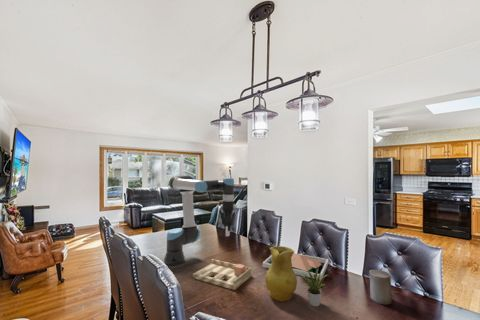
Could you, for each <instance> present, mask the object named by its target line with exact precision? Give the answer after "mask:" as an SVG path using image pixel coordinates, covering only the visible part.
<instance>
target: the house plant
mask: <svg viewBox="0 0 480 320" xmlns="http://www.w3.org/2000/svg"><path fill="white" fill-rule="evenodd" d="M305 270H306V269H305ZM306 271H307V270H306ZM307 272H308V273H309V275H310V279H309V277H307V276H306V275H305V274H304V275H305V276H306V277H305V276H302V275H301V277H302V278H303V280H304V281H302V283H305V284H306V286H307V287H308V288H307V292H306V293H307V296H308V297H307V298H308V303H309V305H310V306H313V307H319V306H320V305H321V299H322V289H324V288H325V286H326V284H325V283H323V281H324V279H325V277H327V276H328V274H324V275H323V277H322V278H321V279H320V280H319V278H320V274H321V272H320V273H319V270H318V268H316V271H314V272H313V271H312V272H311V271H309V270H308V271H307ZM310 272H311V273H315V274H314V278H313V277H312V275H311V273H310ZM302 274H303V273H302ZM317 274H319V276H318V278H317ZM316 278H317V279H316ZM321 282H322V283H321Z"/></svg>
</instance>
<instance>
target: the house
mask: <svg viewBox="0 0 480 320" xmlns="http://www.w3.org/2000/svg"><path fill="white" fill-rule="evenodd" d="M295 253H296V252H294V253H293V255H292V257H291V259H292V260H291V261H292V268H293V269H297V270H302V271H306V270H307V271H309V272H311V273H313V271H314V272H316V271H317V269H318V271H319V270H320V267H321V265H323V263H321V262H322V261H319V260H316V259H312V258H309V257H306V256H302V255H303V254H301V255H299V254H300V253H296V254H295ZM305 269H306V270H305Z"/></svg>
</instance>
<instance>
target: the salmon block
mask: <svg viewBox="0 0 480 320" xmlns="http://www.w3.org/2000/svg"><path fill="white" fill-rule="evenodd" d="M245 267H246V265H245V264H240V263H236V266H235V267H234V275H238V276H240V275H241V274H243V273H244V272H245Z"/></svg>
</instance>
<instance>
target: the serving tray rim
mask: <svg viewBox="0 0 480 320" xmlns="http://www.w3.org/2000/svg"><path fill="white" fill-rule="evenodd" d="M294 253H295V254H297V253H296V252H294ZM298 254H299V255H302V256H306V257H309V258H312V259H316V260H319V261H322V262H320V263H321V264H324V265H323V266H322V269H321V270H320V273H321V274H320V273H318V274H317V278H318V276H319V274H320V278H319V281H320V279H321V278H322V277H323V276H324V275H325V273H326V270H327V268H328V266H329V258H323V257H318V256H312V255H306V254H300V253H298ZM271 261H272V254H270V255H269V257H267V258H266V259H265V260H263V262H262V268H264V269H269V268H270V266H271ZM293 271H294V272H295V274H296V276H301V275H302V276H304V277H305V278H307V277H308V278H310V275H309V273H308V272H307V271H304V270H301V269H298V268H296V269H294V268H293ZM309 272H310V273H311V275H312V277H313V279H314V274H315V273H316V272H314V273H313V272H311V271H309ZM302 273H303V274H302ZM304 274H305V275H306V276H307V277H306V276H305V275H304ZM302 276H301V277H302ZM317 278H316V279H317ZM310 279H311V278H310Z"/></svg>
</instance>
